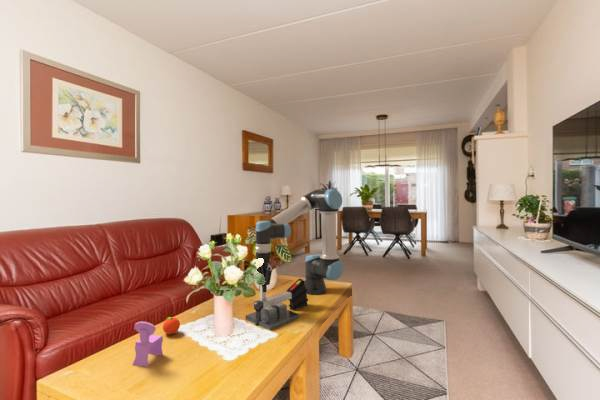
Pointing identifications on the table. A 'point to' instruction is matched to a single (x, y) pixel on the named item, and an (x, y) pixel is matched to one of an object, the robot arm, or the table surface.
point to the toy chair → (146, 343)
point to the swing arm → (272, 300)
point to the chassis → (272, 316)
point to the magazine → (298, 295)
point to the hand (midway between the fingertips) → (263, 298)
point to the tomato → (171, 325)
